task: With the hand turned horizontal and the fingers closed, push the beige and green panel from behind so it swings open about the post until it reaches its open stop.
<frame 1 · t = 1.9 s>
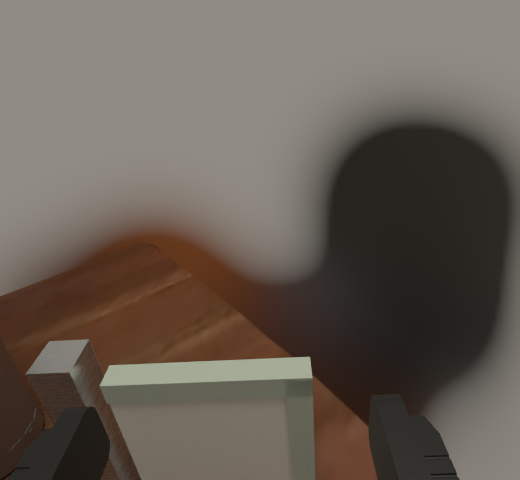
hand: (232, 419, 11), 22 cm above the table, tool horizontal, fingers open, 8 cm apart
beige and green panel: (220, 436, 26), point 8 cm above the table, hinge at 0.0°
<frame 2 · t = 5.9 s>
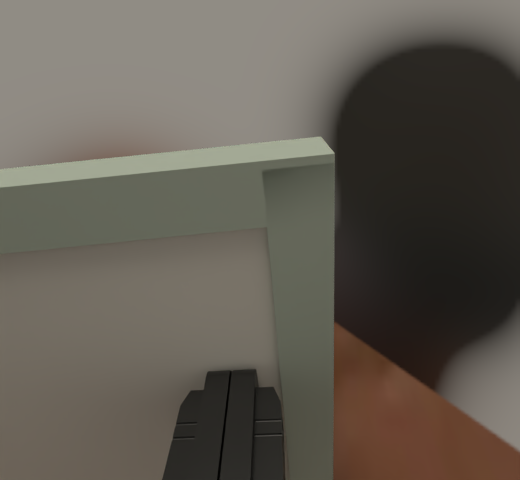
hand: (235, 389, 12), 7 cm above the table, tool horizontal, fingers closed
beige and green panel: (128, 364, 12), point 8 cm above the table, hinge at 3.1°, touching gripper
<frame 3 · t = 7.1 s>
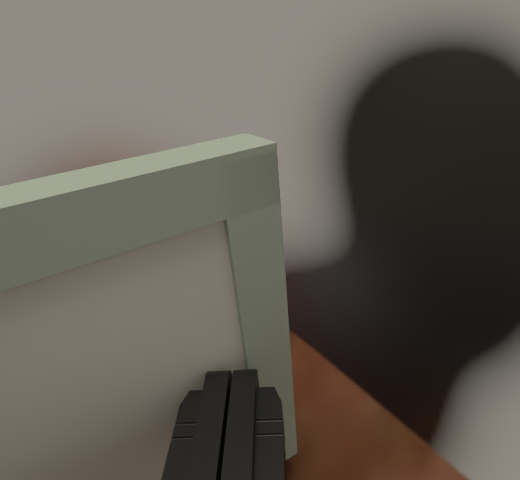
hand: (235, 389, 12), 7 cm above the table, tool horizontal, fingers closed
beige and green panel: (82, 414, 10), point 8 cm above the table, hinge at 31.6°, touching gripper
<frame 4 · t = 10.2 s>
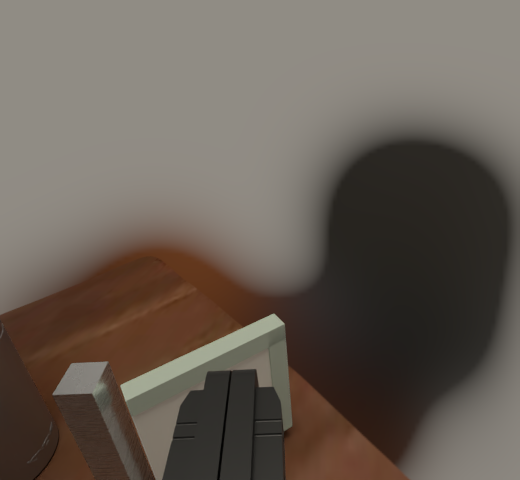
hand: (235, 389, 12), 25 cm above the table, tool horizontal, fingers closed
beige and green panel: (220, 408, 31), point 8 cm above the table, hinge at 32.3°
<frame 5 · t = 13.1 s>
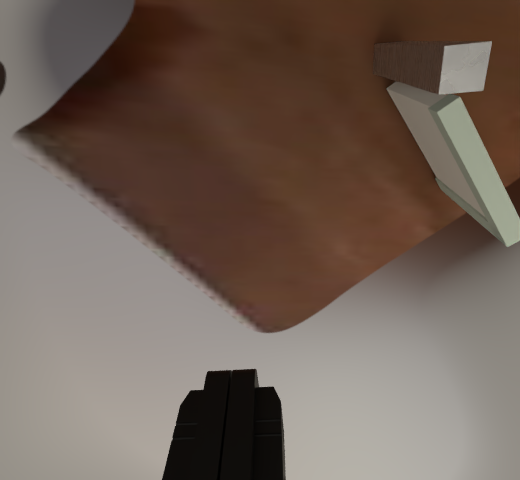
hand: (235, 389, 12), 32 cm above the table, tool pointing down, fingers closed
beige and green panel: (448, 155, 32), point 8 cm above the table, hinge at 32.3°
gate post: (387, 57, 36), on the table
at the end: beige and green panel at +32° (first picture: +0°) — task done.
